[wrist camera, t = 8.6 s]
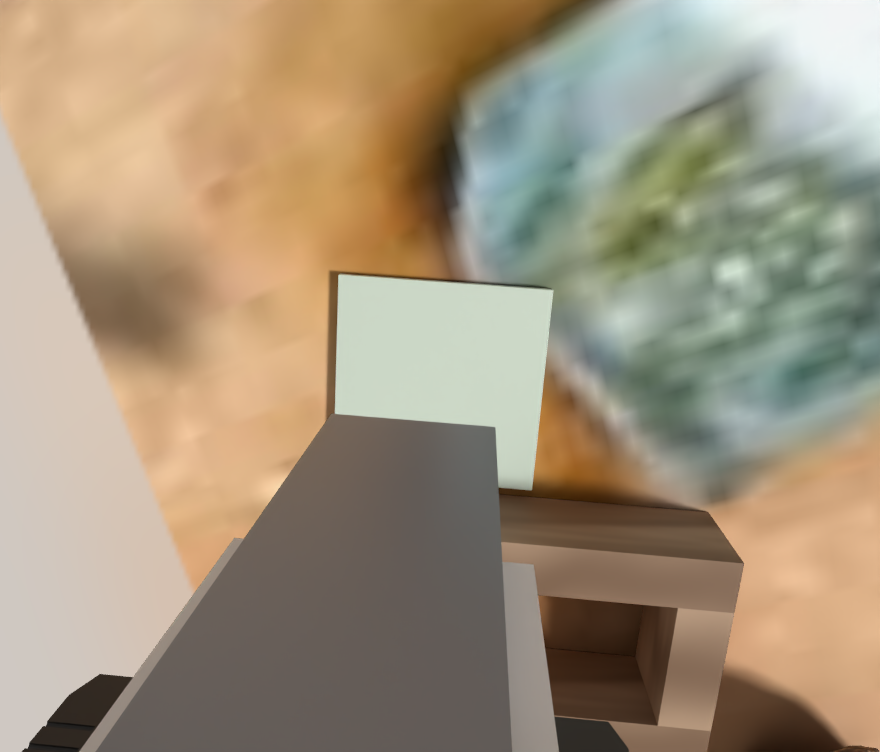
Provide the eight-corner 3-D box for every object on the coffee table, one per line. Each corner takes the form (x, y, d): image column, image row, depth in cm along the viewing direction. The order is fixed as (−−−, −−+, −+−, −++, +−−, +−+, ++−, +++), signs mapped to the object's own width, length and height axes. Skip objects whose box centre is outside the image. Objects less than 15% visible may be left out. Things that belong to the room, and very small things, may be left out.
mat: (340, 273, 30) (338, 274, 29) (552, 289, 29) (553, 290, 29) (335, 470, 32) (333, 473, 32) (531, 486, 32) (531, 490, 31)
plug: (322, 404, 19) (-364, 1293, 4) (505, 418, 19) (603, 1429, 3) (318, 567, 20) (-204, 1748, 5) (489, 583, 20) (511, 1866, 5)
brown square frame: (486, 493, 32) (486, 540, 28) (708, 512, 31) (744, 563, 27) (469, 679, 34) (467, 749, 30) (674, 700, 34) (702, 774, 30)
